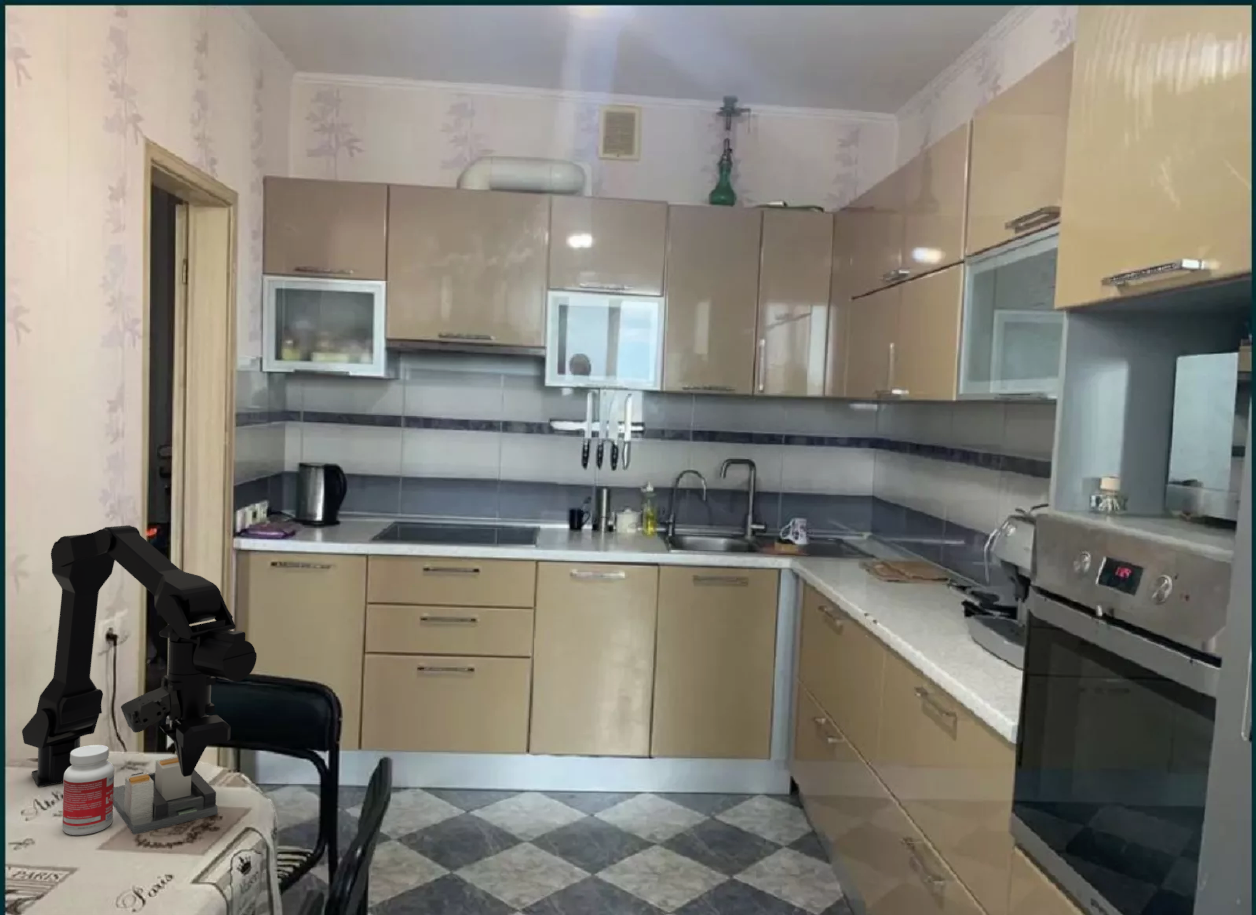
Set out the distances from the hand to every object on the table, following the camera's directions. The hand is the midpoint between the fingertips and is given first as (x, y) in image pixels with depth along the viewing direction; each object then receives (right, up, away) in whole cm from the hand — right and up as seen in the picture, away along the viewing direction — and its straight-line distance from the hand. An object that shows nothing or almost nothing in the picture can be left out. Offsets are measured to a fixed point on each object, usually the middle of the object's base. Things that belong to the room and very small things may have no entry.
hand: (186, 775), depth 129 cm
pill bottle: (-12, -6, -4) cm, 14 cm away
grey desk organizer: (-6, -6, +4) cm, 10 cm away
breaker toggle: (-5, -5, +5) cm, 9 cm away
